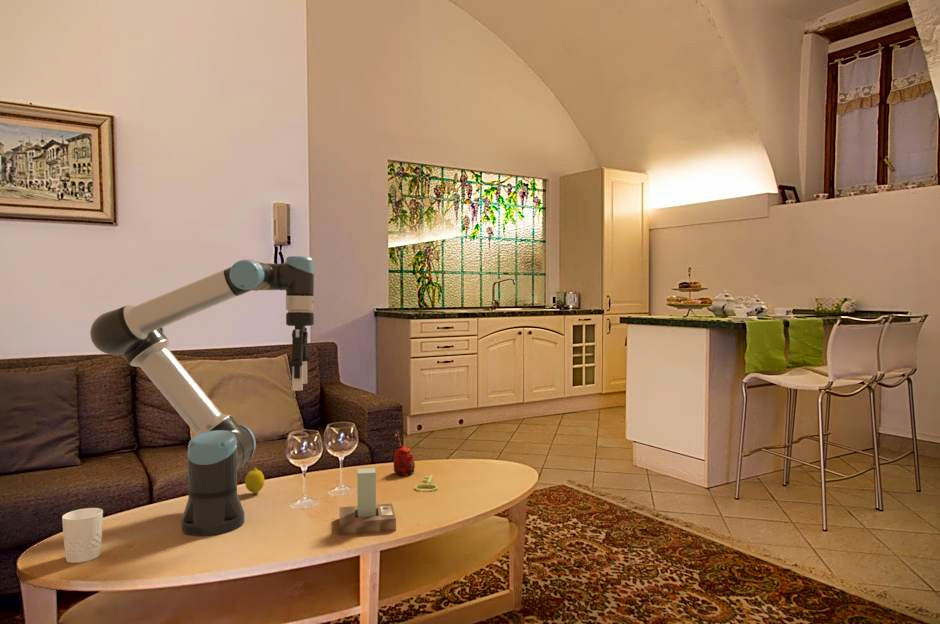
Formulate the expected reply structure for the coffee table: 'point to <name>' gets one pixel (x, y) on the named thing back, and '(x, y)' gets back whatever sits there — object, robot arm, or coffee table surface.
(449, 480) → the coffee table surface
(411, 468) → the red clay folk toy
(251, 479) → the fruit
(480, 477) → the coffee table surface
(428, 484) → the key
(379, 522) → the socket block
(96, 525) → the white cup
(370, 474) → the sage peg
